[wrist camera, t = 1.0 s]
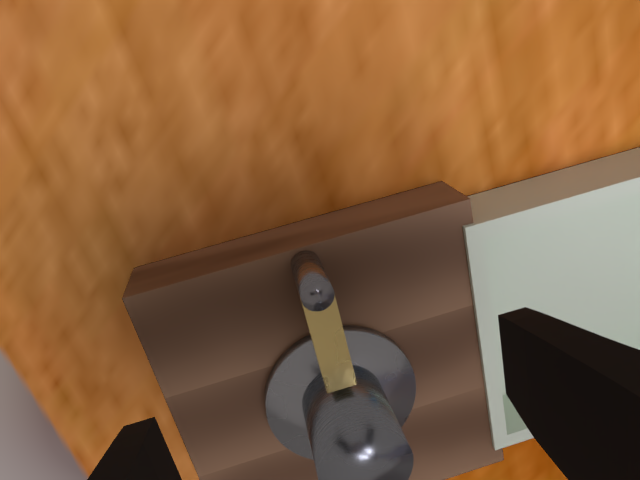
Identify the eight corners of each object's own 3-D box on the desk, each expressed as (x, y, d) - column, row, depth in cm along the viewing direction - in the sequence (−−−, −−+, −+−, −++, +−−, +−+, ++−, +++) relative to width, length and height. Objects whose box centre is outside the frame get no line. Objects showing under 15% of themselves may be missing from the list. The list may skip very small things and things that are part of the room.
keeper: (341, 346, 19) (358, 386, 17) (315, 354, 19) (327, 395, 17) (316, 247, 18) (330, 276, 15) (287, 255, 17) (297, 286, 15)
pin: (401, 387, 23) (464, 505, 17) (279, 425, 23) (300, 560, 17) (377, 276, 21) (440, 368, 15) (243, 316, 21) (252, 427, 15)
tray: (667, 345, 25) (715, 377, 23) (467, 408, 24) (495, 450, 22) (672, 137, 21) (732, 150, 19) (435, 205, 21) (465, 227, 18)
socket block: (477, 421, 25) (503, 460, 23) (229, 501, 24) (230, 550, 22) (441, 181, 20) (470, 198, 18) (133, 268, 19) (121, 298, 17)
